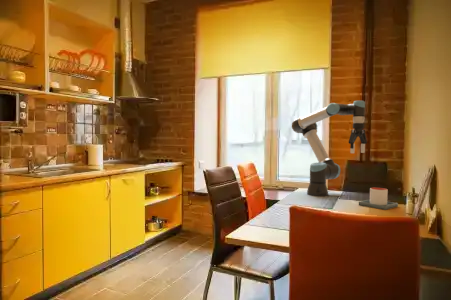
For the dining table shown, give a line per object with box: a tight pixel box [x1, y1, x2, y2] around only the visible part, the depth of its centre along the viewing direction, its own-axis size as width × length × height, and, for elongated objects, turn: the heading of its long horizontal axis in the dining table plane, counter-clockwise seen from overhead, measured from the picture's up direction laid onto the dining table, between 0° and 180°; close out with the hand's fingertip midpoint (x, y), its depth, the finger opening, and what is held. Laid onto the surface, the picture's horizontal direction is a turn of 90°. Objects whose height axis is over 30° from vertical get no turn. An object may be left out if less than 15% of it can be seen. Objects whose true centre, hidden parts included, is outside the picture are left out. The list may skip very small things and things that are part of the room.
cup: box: [369, 187, 389, 206], centre depth 206 cm, size 10×10×10 cm
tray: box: [358, 198, 399, 211], centre depth 206 cm, size 17×17×2 cm
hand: (357, 153), depth 232 cm, fingers open, 13 cm apart
